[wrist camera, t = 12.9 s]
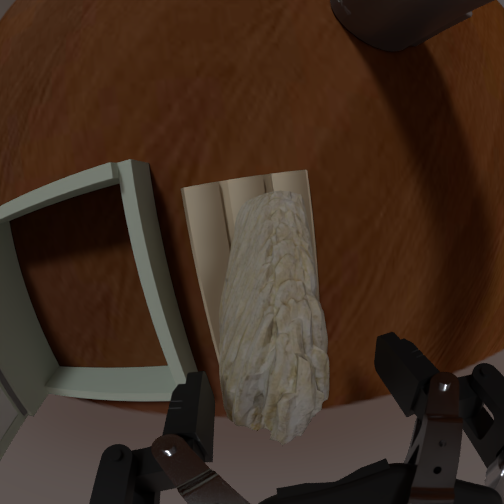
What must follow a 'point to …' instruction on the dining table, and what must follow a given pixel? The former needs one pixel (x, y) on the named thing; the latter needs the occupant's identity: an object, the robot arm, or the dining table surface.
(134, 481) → the robot arm
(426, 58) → the dining table surface
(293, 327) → the fossil tooth
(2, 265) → the cold frame
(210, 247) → the slatted stand
